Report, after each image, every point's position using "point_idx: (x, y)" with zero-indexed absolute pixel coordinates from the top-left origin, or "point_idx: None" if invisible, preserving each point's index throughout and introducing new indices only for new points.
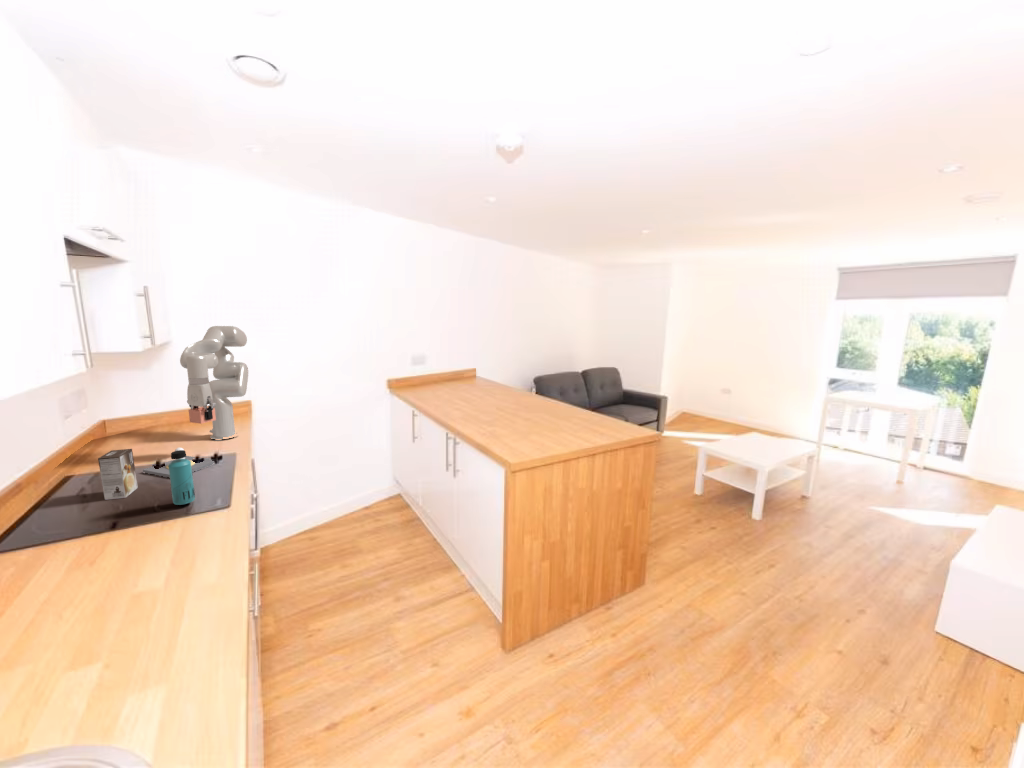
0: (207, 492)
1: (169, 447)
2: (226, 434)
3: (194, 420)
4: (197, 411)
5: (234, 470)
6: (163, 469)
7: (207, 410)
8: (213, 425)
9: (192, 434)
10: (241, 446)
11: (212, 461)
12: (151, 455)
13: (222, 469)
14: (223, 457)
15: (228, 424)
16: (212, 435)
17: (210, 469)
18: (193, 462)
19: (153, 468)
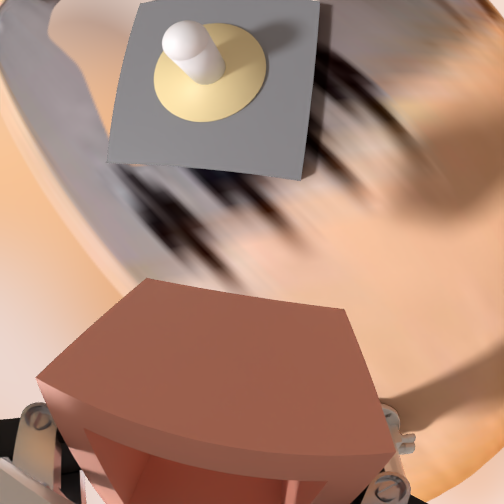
0: (25, 24)
1: (477, 299)
2: None
3: (254, 313)
4: (102, 395)
5: (33, 137)
6: (236, 16)
7: (25, 414)
8: None
9: (468, 411)
10: None
11: (114, 148)
12: (477, 200)
13: (63, 127)
14: (151, 236)
15: None
16: (397, 424)
17: (96, 109)
18: (172, 103)
19: (290, 15)
